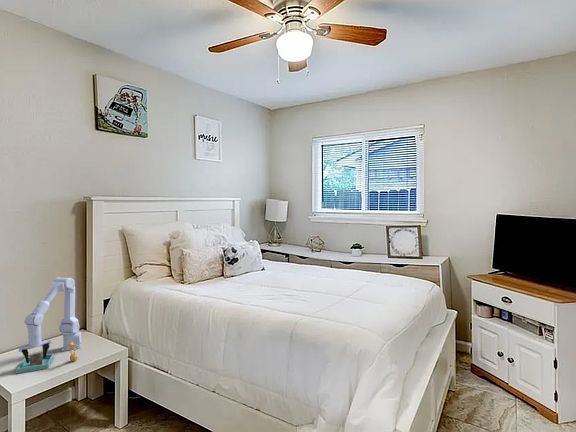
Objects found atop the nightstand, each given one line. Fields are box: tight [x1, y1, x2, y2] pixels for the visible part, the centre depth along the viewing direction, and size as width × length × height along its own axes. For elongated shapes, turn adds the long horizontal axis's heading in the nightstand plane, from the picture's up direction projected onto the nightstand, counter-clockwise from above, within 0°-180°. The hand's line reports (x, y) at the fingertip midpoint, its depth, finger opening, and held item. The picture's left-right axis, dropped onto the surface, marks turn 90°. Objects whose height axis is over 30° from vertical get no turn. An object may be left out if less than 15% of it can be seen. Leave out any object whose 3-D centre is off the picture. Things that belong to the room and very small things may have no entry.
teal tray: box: [15, 353, 55, 375], centre depth 195 cm, size 14×14×2 cm
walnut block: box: [29, 352, 43, 366], centre depth 195 cm, size 4×4×5 cm
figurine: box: [64, 341, 81, 362], centre depth 199 cm, size 8×6×12 cm
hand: (36, 360), depth 195 cm, fingers open, 7 cm apart
